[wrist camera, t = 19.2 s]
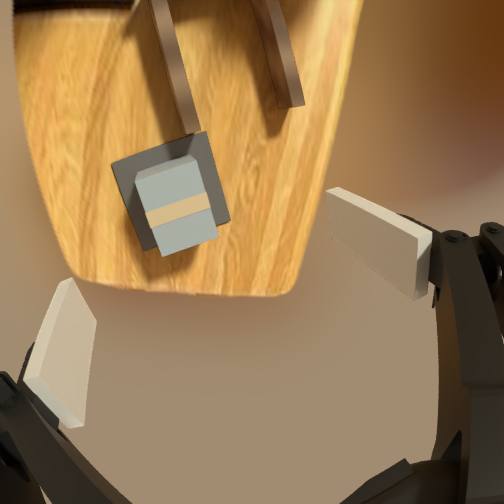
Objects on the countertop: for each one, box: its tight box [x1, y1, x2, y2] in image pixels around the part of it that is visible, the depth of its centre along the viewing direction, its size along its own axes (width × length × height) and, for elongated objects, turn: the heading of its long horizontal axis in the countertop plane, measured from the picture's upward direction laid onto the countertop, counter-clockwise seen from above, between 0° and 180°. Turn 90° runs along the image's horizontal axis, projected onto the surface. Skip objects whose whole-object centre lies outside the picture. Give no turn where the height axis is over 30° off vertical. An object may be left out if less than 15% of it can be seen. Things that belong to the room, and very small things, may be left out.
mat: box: [111, 131, 231, 251], centre depth 35 cm, size 11×11×1 cm
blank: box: [135, 154, 219, 257], centre depth 32 cm, size 8×6×6 cm
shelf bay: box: [148, 0, 305, 135], centre depth 27 cm, size 18×13×6 cm
